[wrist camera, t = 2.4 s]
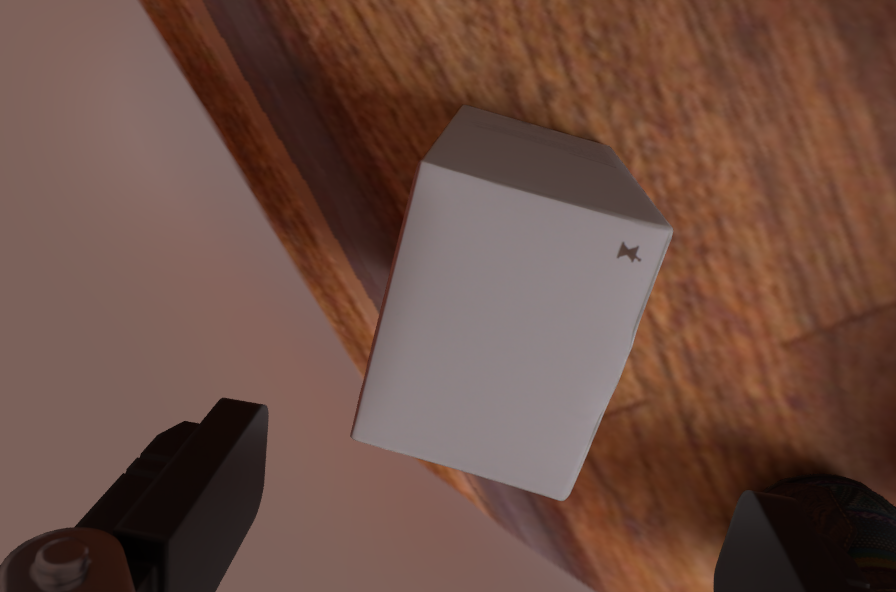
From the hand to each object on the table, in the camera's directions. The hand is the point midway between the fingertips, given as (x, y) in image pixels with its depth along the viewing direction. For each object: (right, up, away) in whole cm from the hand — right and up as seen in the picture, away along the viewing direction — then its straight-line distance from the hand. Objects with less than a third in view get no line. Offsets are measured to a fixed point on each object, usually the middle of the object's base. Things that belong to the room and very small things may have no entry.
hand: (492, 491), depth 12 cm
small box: (+2, +7, +18) cm, 19 cm away
